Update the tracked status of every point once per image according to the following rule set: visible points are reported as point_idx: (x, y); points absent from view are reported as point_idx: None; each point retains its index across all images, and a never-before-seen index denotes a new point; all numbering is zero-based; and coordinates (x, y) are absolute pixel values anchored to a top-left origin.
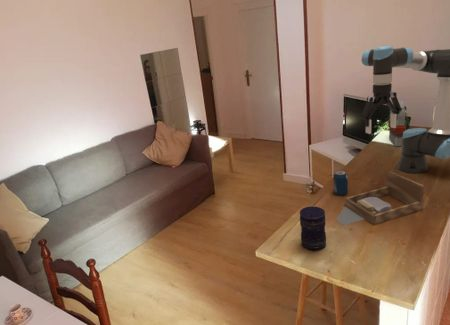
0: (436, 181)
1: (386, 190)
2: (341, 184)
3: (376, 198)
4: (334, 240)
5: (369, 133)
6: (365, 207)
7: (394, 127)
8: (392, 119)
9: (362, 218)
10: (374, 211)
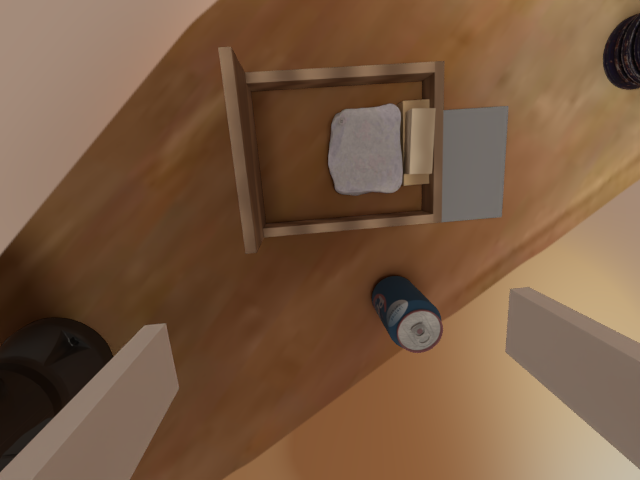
0: (56, 235)
1: (273, 225)
2: (417, 291)
3: (350, 176)
4: (577, 45)
5: (531, 293)
6: (433, 123)
7: (162, 330)
8: (113, 453)
9: None
10: (403, 110)
